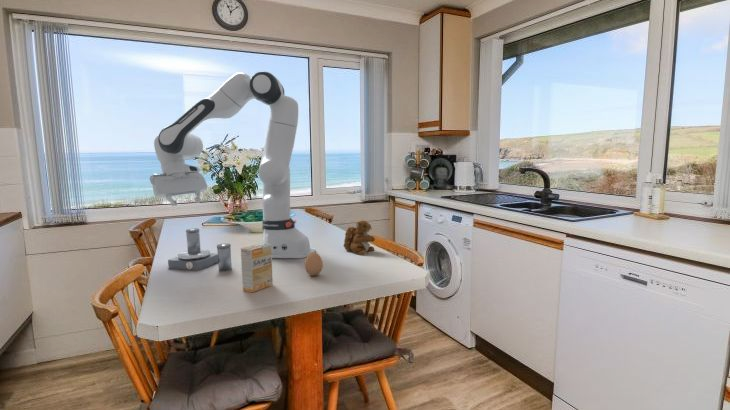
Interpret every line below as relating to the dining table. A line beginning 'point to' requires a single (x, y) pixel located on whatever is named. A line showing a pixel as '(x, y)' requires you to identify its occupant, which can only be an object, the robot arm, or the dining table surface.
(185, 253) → the pan
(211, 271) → the dining table surface
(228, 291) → the dining table surface
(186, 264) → the scale
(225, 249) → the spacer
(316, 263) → the egg
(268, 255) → the supplement box
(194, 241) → the cylinder
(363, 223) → the stuffed squirrel
